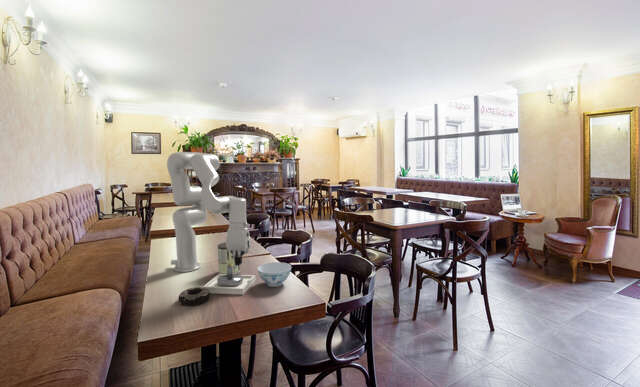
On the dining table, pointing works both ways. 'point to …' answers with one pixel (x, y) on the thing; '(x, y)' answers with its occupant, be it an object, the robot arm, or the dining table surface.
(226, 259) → the coffee can
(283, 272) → the chinaware
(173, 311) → the dining table surface
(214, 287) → the white square tray
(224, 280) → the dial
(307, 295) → the dining table surface
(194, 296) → the donut
